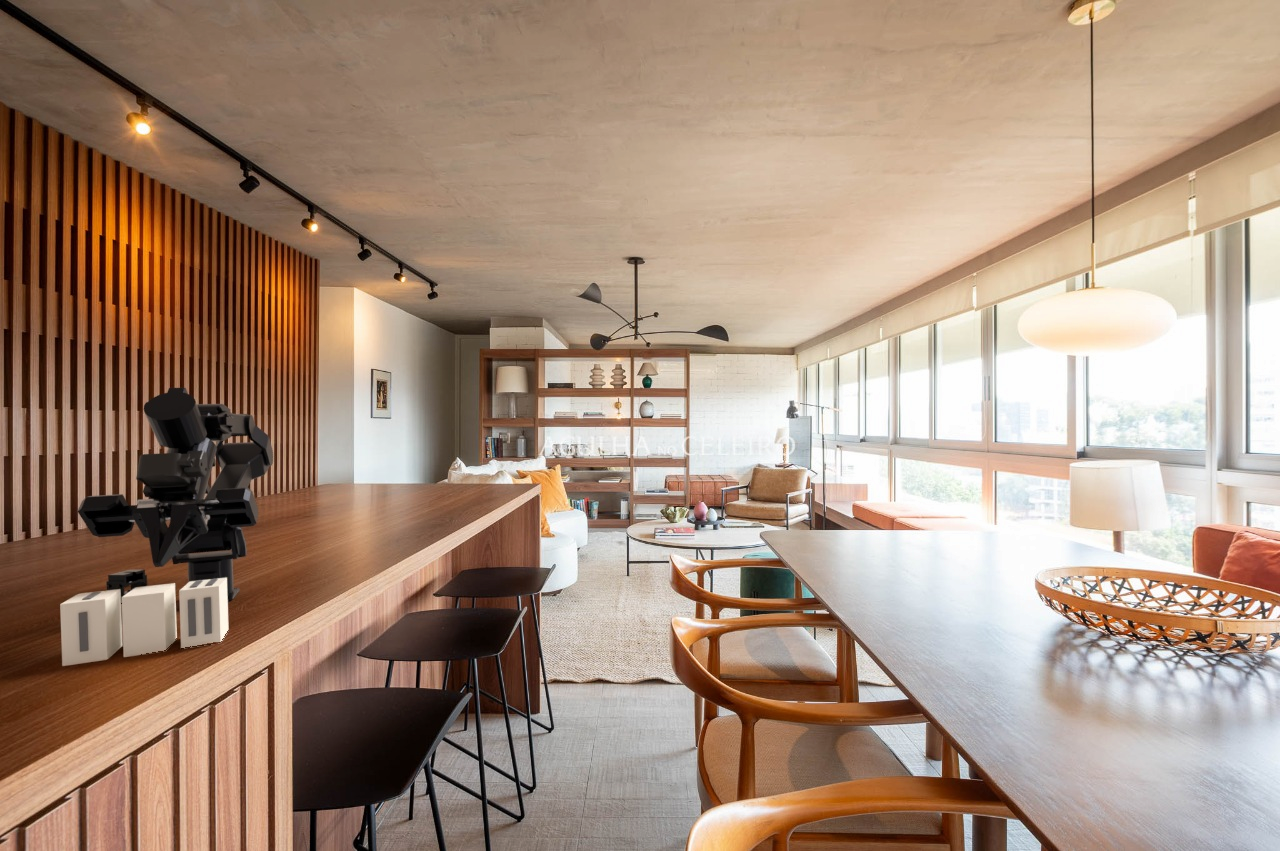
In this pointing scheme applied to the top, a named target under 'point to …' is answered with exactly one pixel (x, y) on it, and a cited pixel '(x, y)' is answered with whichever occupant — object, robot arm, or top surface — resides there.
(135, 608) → the plain block
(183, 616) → the marked block two
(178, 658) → the top surface
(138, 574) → the black angular block
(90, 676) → the top surface
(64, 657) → the marked block one
